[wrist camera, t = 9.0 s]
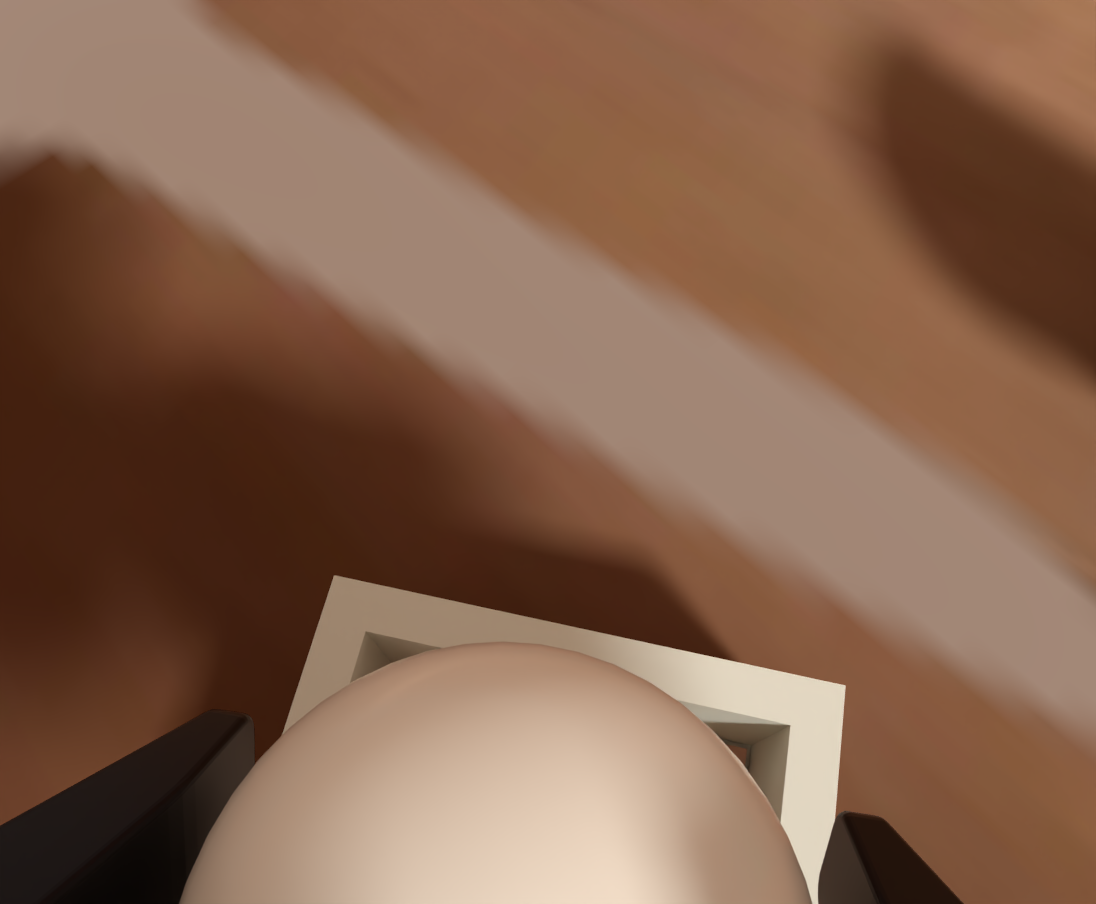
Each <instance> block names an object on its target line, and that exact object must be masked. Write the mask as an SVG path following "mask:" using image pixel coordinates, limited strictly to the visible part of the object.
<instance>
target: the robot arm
mask: <svg viewBox="0 0 1096 904" xmlns="http://www.w3.org/2000/svg"><path fill="white" fill-rule="evenodd" d="M254 765H255V742H254V723H253V720H252V718H251V717H250V716H249V715H248V714H245V713H239V712H233V711H227V710H221V709H213V710H209V711H207V712H205V713H203V714H201V715H199V716H198V717H196V718H194V719H192V720H190V721H189V722H187V723H185V724H183V725H181V726H180V727H178V728H176V729H174V730H172V731H170V732H169V733H167V734H165V735H163V736H161V737H160V738H158V739H156V740H154V741H152V742H151V743H149V744H147V745H145V746H143V747H142V748H140V749H138V750H136V751H134V752H133V753H131V754H129V755H127V756H125V757H123V758H122V759H120V760H118V761H116V762H114V763H113V764H111V765H109V766H107V767H105V768H104V769H102V770H100V771H98V772H96V773H95V774H93V775H91V776H89V777H87V778H86V779H84V780H82V781H80V782H78V783H77V784H75V785H73V786H71V787H69V788H67V789H66V790H64V791H62V792H60V793H58V794H57V795H55V796H53V797H51V798H49V799H48V800H46V801H44V802H42V803H40V804H39V805H37V806H35V807H33V808H31V809H30V810H28V811H26V812H24V813H22V814H20V815H19V816H17V817H15V818H13V819H11V820H10V821H8V822H6V823H4V824H2V825H1V826H0V904H179V902H180V899H181V896H182V893H183V890H184V887H185V884H186V881H187V879H188V877H189V875H190V873H191V870H192V868H193V866H194V864H195V862H196V860H197V857H198V855H199V853H200V851H201V849H202V847H203V844H204V842H205V840H206V838H207V836H208V834H209V832H210V830H211V829H212V827H213V825H214V824H215V822H216V820H217V819H218V817H219V815H220V814H221V812H222V810H223V809H224V807H225V805H226V804H227V802H228V800H229V799H230V797H231V795H232V794H233V792H234V791H235V790H236V789H237V787H238V786H239V785H240V783H241V782H242V781H243V779H244V778H245V777H246V776H247V774H248V773H249V772H250V770H251V769H252V768H253V766H254ZM818 904H964V903H963V902H962V901H961V900H960V899H959V898H958V897H957V896H956V895H955V894H954V893H953V892H952V891H951V890H950V888H949V887H948V886H947V885H946V884H945V883H944V882H943V881H942V880H941V879H940V878H939V877H938V876H937V875H936V873H935V872H934V871H933V870H932V869H931V868H930V867H929V866H928V865H927V864H926V863H925V862H924V861H923V860H922V858H921V857H920V856H919V855H918V854H917V853H916V852H915V851H914V850H913V849H912V848H911V847H910V846H909V845H908V843H907V842H906V841H905V840H904V839H903V838H902V837H901V836H900V835H899V834H898V833H897V832H896V831H895V830H894V828H893V827H892V826H891V825H890V824H889V823H888V822H887V821H886V820H884V819H883V818H881V817H879V816H875V815H869V814H862V813H856V812H850V811H844V812H842V813H840V814H838V816H837V818H836V819H835V822H834V824H833V828H832V831H831V835H830V838H829V842H828V845H827V849H826V852H825V856H824V859H823V863H822V866H821V870H820V874H819V880H818Z"/></svg>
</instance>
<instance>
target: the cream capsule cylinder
mask: <svg viewBox="0 0 1096 904" xmlns="http://www.w3.org/2000/svg"><path fill="white" fill-rule="evenodd" d="M179 904H812V901H811V897H810V893H809V890H808V886H807V883H806V879H805V877H804V875H803V872H802V870H801V867H800V865H799V862H798V860H797V857H796V855H795V852H794V850H793V847H792V845H791V843H790V840H789V838H788V836H787V834H786V832H785V830H784V828H783V827H782V825H781V823H780V821H779V819H778V817H777V816H776V814H775V812H774V810H773V808H772V806H771V805H770V803H769V801H768V799H767V797H766V796H765V794H764V793H763V792H762V790H761V789H760V787H759V786H758V785H757V783H756V782H755V780H754V779H753V778H752V776H751V775H750V773H749V772H748V771H747V769H746V768H745V766H744V765H743V763H742V762H741V761H740V760H739V759H738V758H737V757H736V755H735V754H734V753H733V752H732V751H731V750H730V749H729V748H728V747H727V745H726V744H725V743H724V742H723V741H722V740H721V739H720V738H719V737H718V736H717V734H716V733H715V732H714V731H713V730H712V729H711V728H709V727H708V726H707V725H706V724H705V723H704V722H703V721H701V720H700V719H699V718H698V717H697V716H696V715H694V714H693V713H692V712H691V711H690V710H689V709H687V708H686V707H685V706H684V705H683V704H682V703H680V702H679V701H677V700H676V699H674V698H673V697H671V696H670V695H668V694H667V693H665V692H664V691H662V690H661V689H659V688H658V687H656V686H655V685H653V684H652V683H650V682H649V681H647V680H645V679H643V678H641V677H639V676H637V675H634V674H632V673H630V672H628V671H626V670H624V669H622V668H620V667H618V666H616V665H614V664H612V663H609V662H606V661H603V660H600V659H597V658H594V657H591V656H589V655H586V654H583V653H580V652H576V651H571V650H567V649H562V648H557V647H552V646H547V645H542V644H531V643H517V642H487V643H470V644H462V645H456V646H451V647H446V648H441V649H436V650H430V651H426V652H423V653H420V654H417V655H414V656H411V657H408V658H405V659H402V660H399V661H396V662H393V663H390V664H388V665H386V666H384V667H382V668H380V669H378V670H376V671H373V672H371V673H369V674H367V675H365V676H363V677H361V678H359V679H357V680H355V681H353V682H352V683H350V684H348V685H347V686H345V687H344V688H342V689H341V690H339V691H337V692H336V693H334V694H333V695H331V696H330V697H328V698H326V699H325V700H323V701H322V702H320V703H319V704H318V705H317V706H315V707H314V708H313V709H312V710H311V711H309V712H308V713H307V714H306V715H304V716H303V717H302V718H301V719H300V720H298V721H297V722H296V723H295V724H293V725H292V726H291V727H290V728H289V729H288V730H287V731H286V732H285V733H284V734H283V735H282V736H281V737H280V738H279V739H278V740H277V741H276V742H275V743H274V744H273V745H272V746H271V747H270V748H269V749H268V750H267V751H266V752H265V753H264V755H263V756H262V757H261V758H260V759H259V760H258V761H257V762H256V764H255V765H254V766H253V768H252V769H251V770H250V772H249V773H248V774H247V776H246V777H245V778H244V779H243V781H242V782H241V783H240V785H239V786H238V787H237V789H236V790H235V791H234V792H233V794H232V795H231V797H230V799H229V800H228V802H227V804H226V805H225V807H224V809H223V810H222V812H221V814H220V815H219V817H218V819H217V820H216V822H215V824H214V825H213V827H212V829H211V830H210V832H209V834H208V836H207V838H206V840H205V842H204V844H203V847H202V849H201V851H200V853H199V855H198V857H197V860H196V862H195V864H194V866H193V868H192V870H191V873H190V875H189V877H188V879H187V881H186V884H185V887H184V890H183V893H182V896H181V899H180V902H179Z"/></svg>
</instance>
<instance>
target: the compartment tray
mask: <svg viewBox="0 0 1096 904" xmlns="http://www.w3.org/2000/svg"><path fill="white" fill-rule="evenodd" d="M487 642H517V643H531V644H542V645H547V646H552V647H557V648H562V649H567V650H571V651H576V652H580V653H583V654H586V655H589V656H591V657H594V658H597V659H600V660H603V661H606V662H609V663H612V664H614V665H616V666H618V667H620V668H622V669H624V670H626V671H628V672H630V673H632V674H634V675H637V676H639V677H641V678H643V679H645V680H647V681H649V682H650V683H652V684H653V685H655V686H656V687H658V688H659V689H661V690H662V691H664V692H665V693H667V694H668V695H670V696H671V697H673V698H674V699H676V700H677V701H679V702H680V703H682V704H683V705H684V706H685V707H686V708H687V709H689V710H690V711H691V712H692V713H693V714H694V715H696V716H697V717H698V718H699V719H700V720H701V721H703V722H704V723H705V724H706V725H707V726H708V727H709V728H711V729H712V730H713V731H714V732H715V733H716V734H717V736H718V737H719V738H720V739H721V740H722V741H723V742H724V743H725V744H726V745H727V747H728V748H729V749H730V750H731V751H732V752H733V753H734V754H735V755H736V757H737V758H738V759H739V760H740V761H741V762H742V763H743V765H744V766H745V768H746V769H747V771H748V772H749V773H750V775H751V776H752V778H753V779H754V780H755V782H756V783H757V785H758V786H759V787H760V789H761V790H762V792H763V793H764V794H765V796H766V797H767V799H768V801H769V803H770V805H771V806H772V808H773V810H774V812H775V814H776V816H777V817H778V819H779V821H780V823H781V825H782V827H783V828H784V830H785V832H786V834H787V836H788V838H789V840H790V843H791V845H792V847H793V850H794V852H795V855H796V857H797V860H798V862H799V865H800V867H801V870H802V872H803V875H804V877H805V879H806V883H807V886H808V890H809V893H810V897H811V901H812V904H818V880H819V874H820V870H821V866H822V863H823V859H824V856H825V852H826V849H827V845H828V842H829V838H830V835H831V831H832V828H833V824H834V822H835V811H836V799H837V786H838V774H839V761H840V749H841V736H842V723H843V711H844V698H845V685H840V684H836V683H831V682H826V681H822V680H817V679H813V678H808V677H803V676H799V675H794V674H789V673H785V672H780V671H775V670H771V669H766V668H762V667H757V666H752V665H748V664H743V663H738V662H734V661H729V660H725V659H720V658H715V657H711V656H706V655H701V654H697V653H692V652H688V651H683V650H678V649H674V648H669V647H664V646H660V645H655V644H651V643H646V642H641V641H637V640H632V639H627V638H623V637H618V636H613V635H609V634H604V633H600V632H595V631H590V630H586V629H581V628H576V627H572V626H567V625H563V624H558V623H553V622H549V621H544V620H539V619H535V618H530V617H526V616H521V615H516V614H512V613H507V612H502V611H498V610H493V609H488V608H484V607H479V606H475V605H470V604H465V603H461V602H456V601H451V600H447V599H442V598H438V597H433V596H428V595H424V594H419V593H414V592H410V591H405V590H401V589H396V588H391V587H387V586H382V585H377V584H373V583H368V582H363V581H359V580H354V579H350V578H345V577H340V576H336V575H334V577H333V580H332V583H331V586H330V589H329V592H328V596H327V599H326V602H325V605H324V608H323V611H322V614H321V617H320V620H319V623H318V626H317V629H316V632H315V635H314V638H313V642H312V645H311V648H310V651H309V654H308V657H307V660H306V663H305V666H304V669H303V672H302V675H301V678H300V681H299V684H298V687H297V691H296V694H295V697H294V700H293V703H292V706H291V709H290V712H289V715H288V718H287V721H286V724H285V727H284V730H283V733H282V735H283V734H284V733H285V732H286V731H287V730H288V729H289V728H290V727H291V726H292V725H293V724H295V723H296V722H297V721H298V720H300V719H301V718H302V717H303V716H304V715H306V714H307V713H308V712H309V711H311V710H312V709H313V708H314V707H315V706H317V705H318V704H319V703H320V702H322V701H323V700H325V699H326V698H328V697H330V696H331V695H333V694H334V693H336V692H337V691H339V690H341V689H342V688H344V687H345V686H347V685H348V684H350V683H352V682H353V681H355V680H357V679H359V678H361V677H363V676H365V675H367V674H369V673H371V672H373V671H376V670H378V669H380V668H382V667H384V666H386V665H388V664H390V663H393V662H396V661H399V660H402V659H405V658H408V657H411V656H414V655H417V654H420V653H423V652H426V651H430V650H436V649H441V648H446V647H451V646H456V645H462V644H470V643H487Z"/></svg>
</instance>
